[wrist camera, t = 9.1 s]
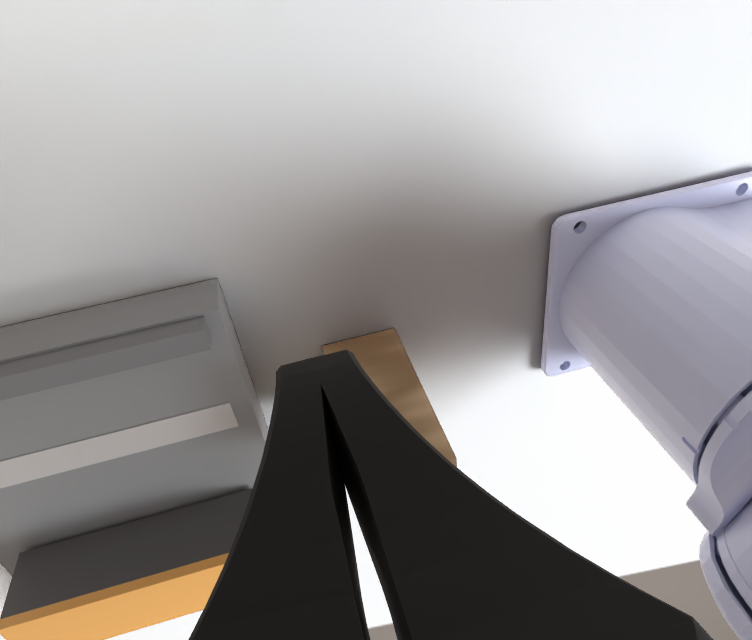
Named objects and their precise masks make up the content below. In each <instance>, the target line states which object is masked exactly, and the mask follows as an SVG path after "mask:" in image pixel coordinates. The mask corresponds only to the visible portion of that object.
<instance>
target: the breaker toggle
mask: <svg viewBox="0 0 752 640" xmlns="http://www.w3.org/2000/svg"><path fill="white" fill-rule="evenodd" d="M252 489H253V488H251V489H248V490H244V491H241V492H237V493H233V494H230V495H226V496H223V497H219V498H215V499H212V500H208V501H205V502H201V503H197V504H194V505H190V506H187V507H183V508H179V509H176V510H172V511H169V512H165V513H161V514H158V515H154V516H151V517H147V518H143V519H140V520H136V521H133V522H129V523H125V524H122V525H118V526H115V527H111V528H107V529H104V530H100V531H96V532H93V533H89V534H86V535H82V536H78V537H75V538H71V539H68V540H64V541H60V542H57V543H53V544H50V545H46V546H42V547H39V548H35V549H32V550H28V551H24V552H21V553H19V556H18V560H17V563H16V566H15V570H14V573H13V577H12V580H11V583H10V587H9V590H8V594H7V597H6V601H5V604H4V607H3V611H2V614H1V618H0V634H1V635H2V636H3V637H4V638H5V639H6V640H105V639H108V638H111V637H115V636H118V635H121V634H125V633H128V632H131V631H134V630H138V629H141V628H144V627H148V626H151V625H154V624H158V623H161V622H164V621H168V620H171V619H174V618H177V617H181V616H184V615H187V614H191V613H194V612H197V611H201V610H204V608H205V606H206V604H207V601H208V599H209V597H210V595H211V593H212V590H213V588H214V586H215V584H216V582H217V580H218V577H219V575H220V573H221V571H222V569H223V566H224V564H225V562H226V559H227V557H228V554H229V552H230V549H231V547H232V545H233V542H234V540H235V537H236V535H237V532H238V529H239V527H240V524H241V521H242V519H243V516H244V513H245V510H246V507H247V504H248V501H249V498H250V495H251V492H252Z"/></svg>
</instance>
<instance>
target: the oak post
mask: <svg viewBox="0 0 752 640" xmlns="http://www.w3.org/2000/svg"><path fill="white" fill-rule="evenodd" d="M346 349H347V350H348V351H350V352H352V353H353V354H354V355H355V357H356V359H357V360H358V362H359V364H360V365H361V367H362V368H363V369H364V371H365V372H366V374H367V375H368V376H369V377H370V379H371V380H372V381H373V383H374V384H375V385H376V386H377V388H378V389H379V390H380V391H381V392H382V394H383V395H384V396H385V397H386V398H387V399H388V401H389V402H390V403H391V404H392V405H393V406H394V407H395V408H396V409H397V410H398V411H399V413H400V414H401V415H402V416H403V417H404V418H405V419H406V420H407V421H408V422H409V423H410V424H411V425H412V426H413V427H414V428H415V429H416V430H417V431H418V432H419V433H420V434H421V435H422V436H423V437H424V438H425V439H426V440H427V441H428V442H429V443H430V444H431V445H432V446H433V447H435V448H436V449H437V450H438V451H439V452H440V453H441V454H442V455H443V456H444V457H445V458H447V459H448V460H449V461H450V462H451V463H452V464H453V465H455V466H456V467H457V463H456V456H455V454H454V452H453V450H452V448H451V446H450V444H449V442H448V440H447V438H446V435H445V433H444V431H443V429H442V427H441V425H440V423H439V421H438V419H437V417H436V414H435V412H434V410H433V408H432V406H431V404H430V402H429V400H428V398H427V396H426V393H425V391H424V389H423V387H422V385H421V383H420V381H419V379H418V377H417V374H416V372H415V370H414V368H413V366H412V364H411V362H410V360H409V358H408V356H407V353H406V351H405V349H404V347H403V345H402V343H401V341H400V339H399V337H398V335H397V332H396V330H395V328H392V329H388V330H384V331H380V332H376V333H372V334H368V335H364V336H360V337H356V338H352V339H348V340H344V341H340V342H336V343H332V344H328V345H324V346H322V350H323V354H324V355H326V354H330V353H334V352H338V351H342V350H346Z"/></svg>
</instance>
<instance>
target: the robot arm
mask: <svg viewBox="0 0 752 640" xmlns="http://www.w3.org/2000/svg"><path fill="white" fill-rule="evenodd" d="M738 187H739V188H738ZM737 188H738V189H737ZM580 221H581V223H580V225H579V226H578V227H577V228H576V229H574V226H575V225H576V224H577V223H578V222H580ZM563 362H564V363H563ZM562 363H563V364H562ZM588 366H592V368H593V369H594V370H595V371H596V372H597V373H598V374H599V376H600V377H601V378H602V379H603V380H604V381H605V382H606V383H607V385H608V386H609V387H610V388H611V389H612V390H613V391H614V393H615V394H616V395H617V396H618V397H619V398H620V399H621V400H622V402H623V403H624V404H625V405H626V406H627V407H628V408H629V410H630V411H631V412H632V413H633V414H634V415H635V416H636V417H637V419H638V420H639V421H640V422H641V423H642V424H643V425H644V427H645V428H646V429H647V430H648V431H649V432H650V433H651V434H652V436H653V437H654V438H655V439H656V440H657V441H658V442H659V444H660V445H661V446H662V447H663V448H664V449H665V450H666V451H667V453H668V454H669V455H670V456H671V457H672V458H673V459H674V461H675V462H676V463H677V464H678V465H679V466H680V467H681V468H682V470H683V471H684V472H685V473H686V474H687V475H688V476H689V478H690V479H691V480H692V481H693V482H694V483H695V484H696V485H697V487H696V489H695V491H694V493H693V494H692V496H691V497H690V498H689V500H688V501H687V503H686V505H687V506H688V508H689V509H690V510H691V511H692V512H693V514H694V515H695V516H696V517H697V518H698V519H699V521H700V522H701V523H702V524H703V525H704V527H705V528H706V529H707V530H708V532H707V533H706V534H705V535H704V537H703V540H702V542H701V544H700V553H699V556H700V562H701V568H702V571H703V574H704V577H705V579H706V582H707V585H708V587H709V589H710V591H711V593H712V595H713V597H714V599H715V601H716V604H717V606H718V608H719V609H720V611H721V613H722V615H723V616H724V618H725V620H726V621H727V623H728V624H729V626H730V627H731V628H732V630H733V631H734V633H735V634H736V635H737V636H738V638H739V639H740V640H752V171H751V172H747V173H742V174H738V175H734V176H729V177H725V178H721V179H716V180H712V181H708V182H703V183H699V184H695V185H690V186H686V187H682V188H677V189H673V190H669V191H664V192H660V193H656V194H651V195H647V196H643V197H638V198H634V199H630V200H625V201H621V202H617V203H612V204H608V205H604V206H599V207H595V208H591V209H586V210H582V211H578V212H573V213H569V214H565V215H562V216H560V217H559V218H557V219H556V220H555V222H554V223H553V225H552V228H551V240H550V253H549V266H548V280H547V293H546V307H545V320H544V333H543V347H542V360H541V369H542V371H543V372H544V373H545V374H546V375H547V376H555V375H559V374H563V373H566V372H570V371H574V370H577V369H581V368H585V367H588ZM345 486H346V489H347V492H348V494H349V497H350V500H351V503H352V505H353V508H354V511H355V514H356V517H357V519H358V522H359V525H360V528H361V530H362V533H363V536H364V539H365V542H366V544H367V547H368V550H369V553H370V555H371V558H372V561H373V564H374V567H375V569H376V572H377V575H378V578H379V580H380V583H381V586H382V589H383V592H384V595H385V598H386V601H387V604H388V607H389V610H390V614H391V617H392V621H393V624H394V628H395V632H396V636H397V639H398V640H713V639H712V638H711V637H710V636H709V634H708V633H707V632H706V631H705V630H704V629H703V628H702V627H701V626H700V625H699V623H698V622H697V621H696V620H695V619H694V618H693V617H692V616H689V615H688V614H686V613H684V612H682V611H680V610H678V609H676V608H675V607H673V606H671V605H669V604H667V603H665V602H663V601H661V600H659V599H657V598H655V597H653V596H652V595H650V594H648V593H646V592H644V591H642V590H640V589H638V588H637V587H635V586H633V585H631V584H629V583H628V582H626V581H624V580H622V579H620V578H619V577H617V576H615V575H613V574H611V573H610V572H608V571H606V570H605V569H603V568H601V567H600V566H598V565H596V564H594V563H593V562H591V561H589V560H588V559H586V558H584V557H583V556H581V555H579V554H578V553H576V552H574V551H573V550H571V549H569V548H568V547H566V546H565V545H563V544H562V543H560V542H559V541H557V540H556V539H554V538H553V537H551V536H550V535H548V534H547V533H545V532H544V531H542V530H541V529H539V528H537V527H536V526H534V525H533V524H531V523H530V522H528V521H527V520H525V519H524V518H522V517H521V516H519V515H518V514H516V513H515V512H513V511H512V510H511V509H509V508H508V507H507V506H505V505H504V504H503V503H501V502H500V501H499V500H497V499H496V498H495V497H493V496H492V495H491V494H489V493H488V492H486V491H485V490H484V489H483V488H481V487H480V486H479V485H478V484H476V483H475V482H474V481H473V480H471V479H470V478H469V477H468V476H466V475H465V474H464V473H463V472H462V471H460V470H459V469H458V468H457V467H456V466H455V465H453V464H452V463H451V462H450V461H449V460H448V459H447V458H445V457H444V456H443V455H442V454H441V453H440V452H439V451H438V450H437V449H436V448H435V447H433V446H432V445H431V444H430V443H429V442H428V441H427V440H426V439H425V438H424V437H423V436H422V435H421V434H420V433H419V432H418V431H417V430H416V429H415V428H414V427H413V426H412V425H411V424H410V423H409V422H408V421H407V420H406V419H405V418H404V417H403V416H402V415H401V414H400V413H399V411H398V410H397V409H396V408H395V407H394V406H393V405H392V404H391V403H390V402H389V401H388V399H387V398H386V397H385V396H384V395H383V394H382V392H381V391H380V390H379V389H378V388H377V386H376V385H375V384H374V383H373V381H372V380H371V379H370V377H369V376H368V375H367V374H366V372H365V371H364V369H363V368H362V367H361V365H360V364H359V362H358V360H357V359H356V357H355V355H354V354H353V353H352V352H350V351H348V350H347V349H346V350H342V351H338V352H334V353H330V354H326V355H322V356H318V357H314V358H310V359H306V360H302V361H298V362H294V363H290V364H286V365H283V366H281V367H280V368H279V369H278V371H277V372H276V389H275V398H274V405H273V410H272V416H271V421H270V426H269V430H268V434H267V439H266V443H265V447H264V451H263V455H262V459H261V463H260V466H259V469H258V473H257V476H256V479H255V482H254V485H253V489H252V492H251V495H250V498H249V501H248V504H247V507H246V510H245V513H244V516H243V519H242V521H241V524H240V527H239V529H238V532H237V535H236V537H235V540H234V542H233V545H232V547H231V549H230V552H229V554H228V557H227V559H226V562H225V564H224V566H223V569H222V571H221V573H220V575H219V577H218V580H217V582H216V584H215V586H214V588H213V590H212V593H211V595H210V597H209V599H208V601H207V604H206V606H205V608H204V610H203V612H202V614H201V616H200V618H199V620H198V622H197V624H196V626H195V628H194V630H193V632H192V634H191V636H190V638H189V640H370V636H369V632H368V628H367V624H366V618H365V613H364V608H363V602H362V597H361V590H360V584H359V577H358V570H357V563H356V557H355V550H354V543H353V537H352V530H351V523H350V517H349V510H348V503H347V497H346V490H345Z"/></svg>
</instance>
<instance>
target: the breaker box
mask: <svg viewBox="0 0 752 640" xmlns="http://www.w3.org/2000/svg"><path fill="white" fill-rule="evenodd" d="M267 434H268V427H267V424H266V421H265V419H264V416H263V413H262V410H261V407H260V404H259V401H258V398H257V395H256V392H255V389H254V386H253V383H252V380H251V377H250V374H249V371H248V368H247V365H246V362H245V359H244V356H243V353H242V350H241V347H240V344H239V341H238V338H237V335H236V332H235V329H234V326H233V323H232V320H231V317H230V314H229V311H228V308H227V305H226V302H225V299H224V296H223V293H222V290H221V287H220V284H219V281H218V278H216V279H211V280H207V281H202V282H198V283H194V284H189V285H185V286H180V287H176V288H172V289H167V290H163V291H158V292H154V293H150V294H145V295H141V296H136V297H132V298H128V299H123V300H119V301H114V302H110V303H106V304H101V305H97V306H92V307H88V308H84V309H79V310H75V311H70V312H66V313H62V314H57V315H53V316H48V317H44V318H39V319H35V320H31V321H26V322H22V323H17V324H13V325H9V326H4V327H0V563H1V564H2V565H3V566H4V568H5V569H6V570H7V571H8V572H9V573H10V574H11V575H12V576H13V573H14V570H15V566H16V563H17V560H18V556H19V553H21V552H24V551H28V550H32V549H35V548H39V547H42V546H46V545H50V544H53V543H57V542H60V541H64V540H68V539H71V538H75V537H78V536H82V535H86V534H89V533H93V532H96V531H100V530H104V529H107V528H111V527H115V526H118V525H122V524H125V523H129V522H133V521H136V520H140V519H143V518H147V517H151V516H154V515H158V514H161V513H165V512H169V511H172V510H176V509H179V508H183V507H187V506H190V505H194V504H197V503H201V502H205V501H208V500H212V499H215V498H219V497H223V496H226V495H230V494H233V493H237V492H241V491H244V490H248V489H251V488H253V485H254V482H255V479H256V476H257V473H258V469H259V466H260V463H261V459H262V455H263V451H264V447H265V443H266V439H267Z"/></svg>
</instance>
